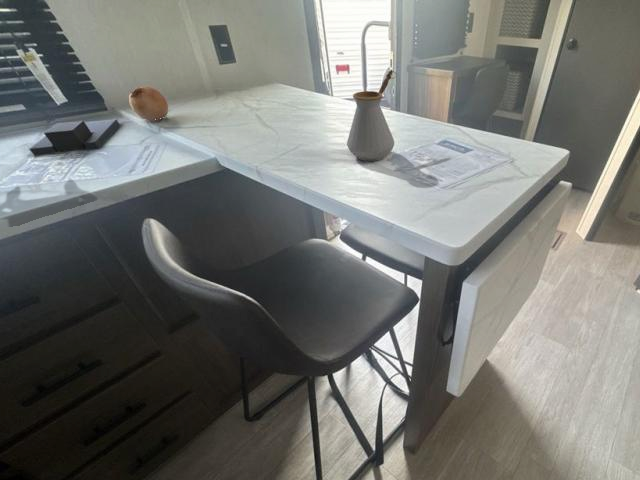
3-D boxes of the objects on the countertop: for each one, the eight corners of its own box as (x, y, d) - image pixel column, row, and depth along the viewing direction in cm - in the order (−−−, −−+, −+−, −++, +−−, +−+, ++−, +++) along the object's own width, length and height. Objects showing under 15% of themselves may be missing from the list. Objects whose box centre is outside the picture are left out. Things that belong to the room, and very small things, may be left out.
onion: (159, 134, 97) (134, 105, 87) (138, 120, 98) (111, 90, 89) (182, 115, 99) (160, 85, 90) (161, 102, 101) (137, 71, 91)
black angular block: (58, 152, 79) (43, 133, 76) (69, 141, 85) (56, 123, 81) (85, 149, 81) (72, 130, 78) (95, 138, 86) (83, 120, 83)
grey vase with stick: (384, 167, 72) (381, 91, 62) (340, 160, 75) (329, 86, 64) (413, 136, 86) (414, 70, 75) (374, 132, 89) (371, 67, 78)
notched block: (34, 155, 78) (28, 148, 77) (64, 129, 91) (61, 124, 90) (98, 148, 81) (94, 142, 80) (119, 124, 94) (116, 119, 93)
